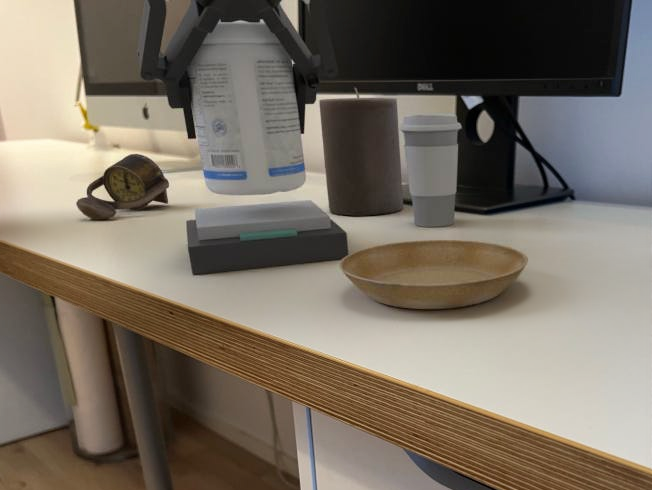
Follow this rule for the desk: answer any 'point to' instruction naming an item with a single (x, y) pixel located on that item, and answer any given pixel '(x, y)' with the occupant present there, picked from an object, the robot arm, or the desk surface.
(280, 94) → the supplement tub
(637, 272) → the desk surface
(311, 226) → the scale
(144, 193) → the antique desk clock
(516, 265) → the plant saucer
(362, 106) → the pillar candle
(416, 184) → the cup
